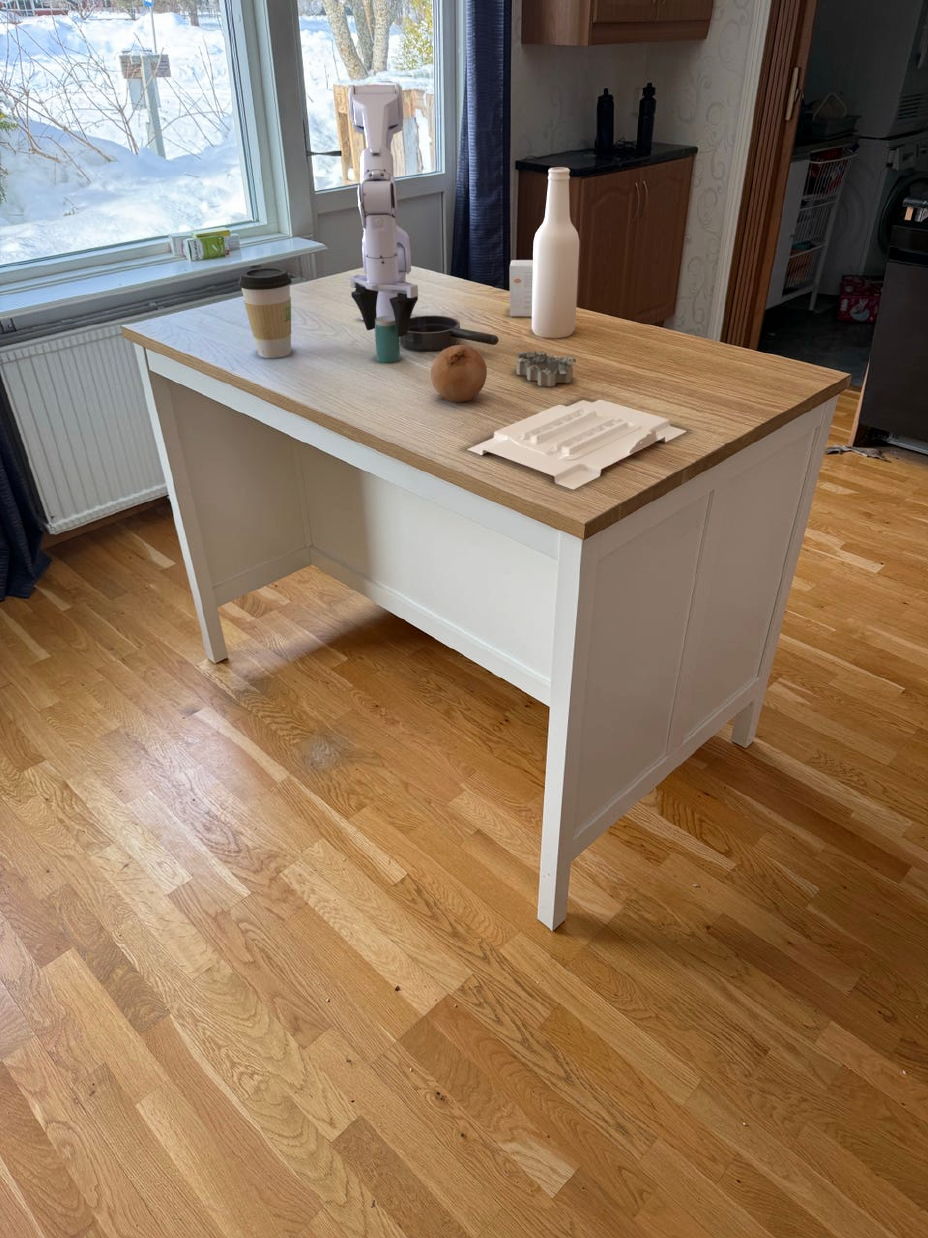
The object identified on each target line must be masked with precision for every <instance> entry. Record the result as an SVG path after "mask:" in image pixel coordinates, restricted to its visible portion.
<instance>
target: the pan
mask: <svg viewBox="0 0 928 1238" xmlns="http://www.w3.org/2000/svg"><path fill="white" fill-rule="evenodd" d="M454 327H456V328H461V322H460V321H459V320H458V319H456V318H454V317H450V316H447V315H446V316H445V315H419V316H417V315H416V317H412V318H410V321H409V326H408V332H407V335H404V336H402V337H399V345H401V346H403V347H404V348H406V349H409V350H413V351H421V352H434V351H435V352H437V351H443V350H445V349H446V348H448V347H451V346H455V345H458V344H459V342H460V341H461V338H456V337H453V336H452V335H451V329H452V328H454Z"/></svg>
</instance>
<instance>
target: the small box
mask: <svg viewBox="0 0 928 1238" xmlns="http://www.w3.org/2000/svg"><path fill="white" fill-rule="evenodd" d="M532 291H533V259H512V260H510V264H509V317H511V318H513V317H518V318H519V317H520V318H522V317H524V318H525V317H527V318H528V317H529V318H530V317H531V318H532Z"/></svg>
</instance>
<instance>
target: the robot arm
mask: <svg viewBox="0 0 928 1238" xmlns="http://www.w3.org/2000/svg"><path fill="white" fill-rule="evenodd" d="M402 87H403V86H401V85H400V83H395V84H371V85H355V84H351V85H350V87H349V88H348V107H349V108H348V109H349V118H350V121H351V123H352V128H353V129H354V132H355V133H357V134H361V135H364V137H365V144H366V147H365V149H363V150H362V153H361V154H360V184H358V187H357V198H358V200H357V201H358V209H359V214H360V218H361V219H360V220H361V227H362V228H361V229H363V237H362V242H361V243H362V249H361V250H362V264H363V273H364V274H365V275H362V274H356V275H352V276H350V288H352V289H354V291H351V293H350V295H351V296H350V297H351V298H352V299H353V301H354V303H355V304H356V305H357V307H358V310H359V312H360V314H361V316H360V318H359V320H361V321H363V322H364V325H365V329H366V331H371V330H375V326H374V323H375V319H376V318H378V317H381V316H393V317H395V323H396V332H397V336H398V337H402V336H404V335H407V332H408V326H409V321H410V318H412V317H417V315H416V314H413V311H414V308H415V306H416V304H417V302H418V300H419V287H418V286H419V285H418V284H416V283H415V284H414V283H411V282H408V281H407V280H406V279H407V275H410V274H411V272H412V258H411V257H412V256H411V254H412V253H411V244H410V236H409V235H408V232H407V231H406V230H404V229H403V228H401V227H400V226H398V225H397V220H396V219H397V218H396V217H397V216H398V191H397V185H396V180H395V175H394V173H395V172H394V171H395V170H394V157H393V153H392V146H391V145H392V141H393V138H394V135H396V134H397V133H399V132H402V131H403V127H404V104H403V103H404V102H403V88H402Z"/></svg>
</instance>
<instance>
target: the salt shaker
mask: <svg viewBox="0 0 928 1238" xmlns="http://www.w3.org/2000/svg"><path fill="white" fill-rule="evenodd" d="M374 326H375V328H374V338H375V349H376V350H375V352H376V360H377V362H380V363H386V364H388V363H395V362H398V361H400V360H401V351H400V350H401V349H400V343H399V337H398V336H397V332H396V323H395V317H393V316H381V317H378V318H376V319H375V323H374Z"/></svg>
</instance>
